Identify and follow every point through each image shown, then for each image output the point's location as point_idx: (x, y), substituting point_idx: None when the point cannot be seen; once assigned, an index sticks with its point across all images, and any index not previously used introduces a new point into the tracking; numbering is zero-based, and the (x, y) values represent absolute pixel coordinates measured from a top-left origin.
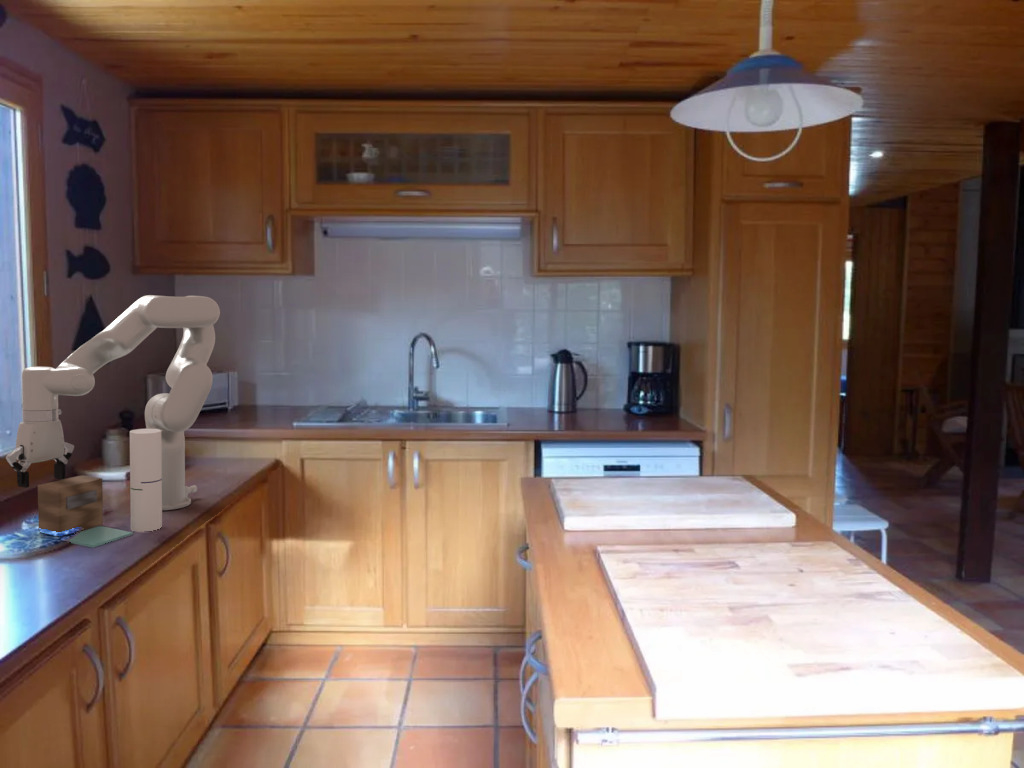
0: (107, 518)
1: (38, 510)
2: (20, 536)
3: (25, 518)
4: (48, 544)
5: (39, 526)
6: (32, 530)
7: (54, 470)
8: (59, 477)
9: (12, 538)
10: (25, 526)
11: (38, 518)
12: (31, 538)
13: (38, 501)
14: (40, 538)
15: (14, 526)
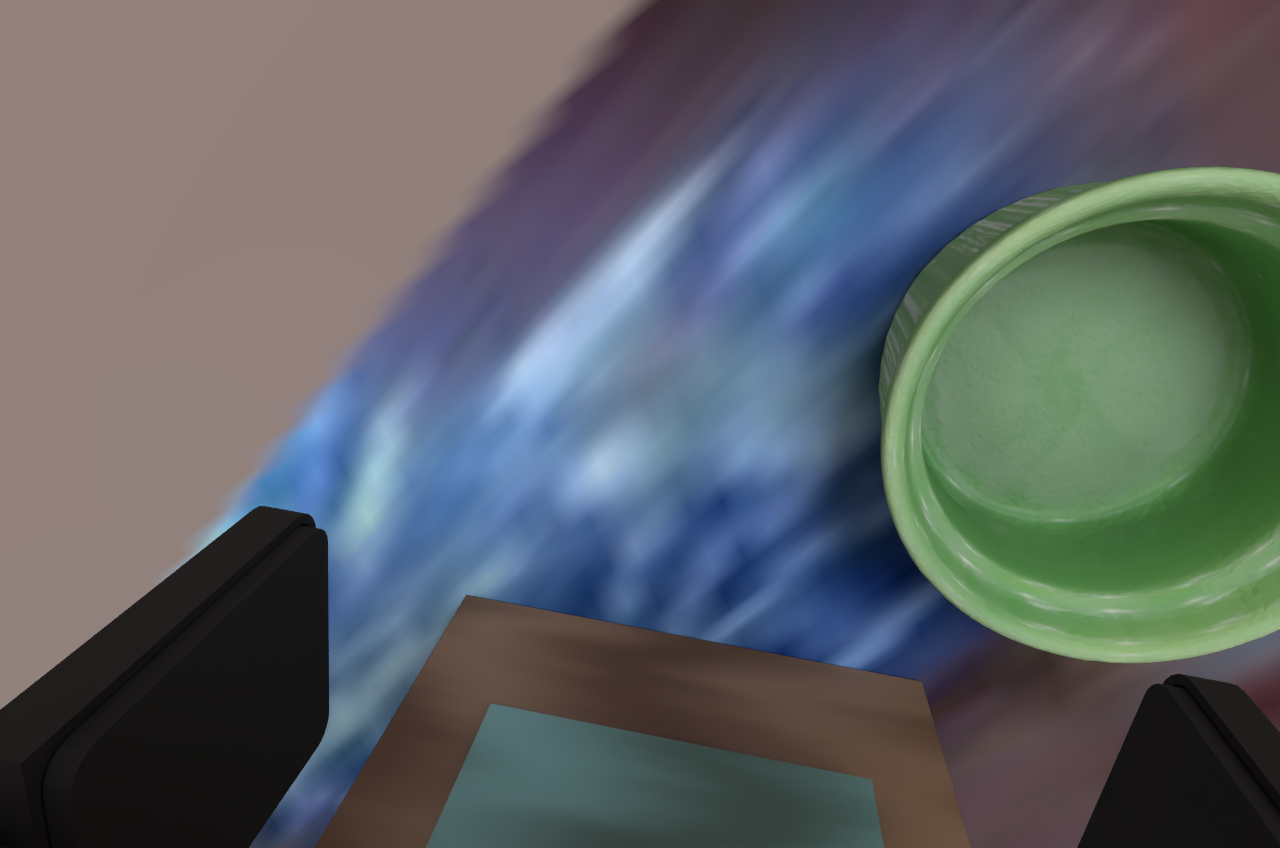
0: (1049, 817)
1: (374, 749)
2: (337, 524)
3: (820, 71)
4: (310, 821)
5: (444, 640)
6: (503, 490)
7: (1270, 838)
8: (1109, 840)
9: (271, 506)
10: (572, 332)
11: (415, 681)
12: (344, 636)
13: (323, 840)
14: (376, 693)
15: (528, 228)
